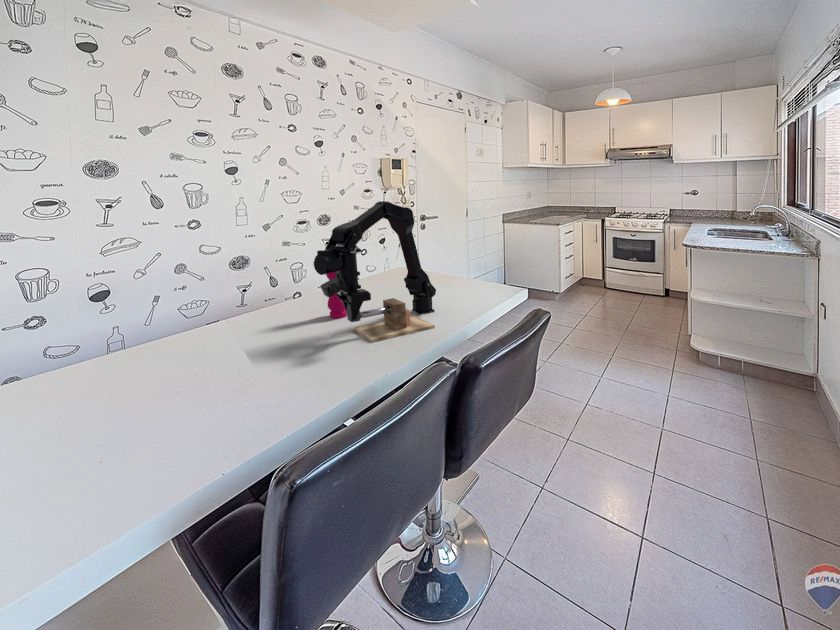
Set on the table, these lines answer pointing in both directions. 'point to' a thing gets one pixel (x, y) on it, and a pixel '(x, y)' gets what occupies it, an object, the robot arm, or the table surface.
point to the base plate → (384, 332)
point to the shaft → (367, 313)
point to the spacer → (407, 317)
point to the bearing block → (395, 314)
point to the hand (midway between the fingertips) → (351, 318)
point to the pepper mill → (335, 302)
